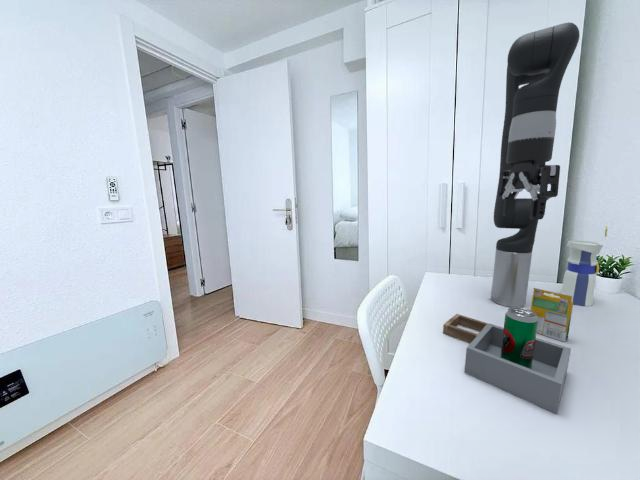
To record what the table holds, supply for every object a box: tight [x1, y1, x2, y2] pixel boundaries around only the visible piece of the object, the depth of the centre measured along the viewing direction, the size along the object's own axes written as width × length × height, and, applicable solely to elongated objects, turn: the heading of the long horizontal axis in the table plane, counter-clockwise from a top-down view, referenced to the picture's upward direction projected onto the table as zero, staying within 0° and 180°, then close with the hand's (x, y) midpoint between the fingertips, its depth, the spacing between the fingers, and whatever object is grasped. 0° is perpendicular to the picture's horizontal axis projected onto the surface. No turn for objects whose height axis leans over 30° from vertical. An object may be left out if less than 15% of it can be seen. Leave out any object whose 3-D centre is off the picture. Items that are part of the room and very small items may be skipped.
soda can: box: [500, 307, 538, 369], centre depth 52 cm, size 5×5×12 cm
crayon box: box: [530, 287, 574, 343], centre depth 65 cm, size 7×3×12 cm, turn 37°
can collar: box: [442, 313, 489, 344], centre depth 67 cm, size 8×8×2 cm
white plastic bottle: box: [560, 225, 608, 307], centre depth 83 cm, size 8×9×25 cm
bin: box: [464, 323, 572, 415], centre depth 52 cm, size 14×14×6 cm
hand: (521, 217), depth 57 cm, fingers open, 8 cm apart
